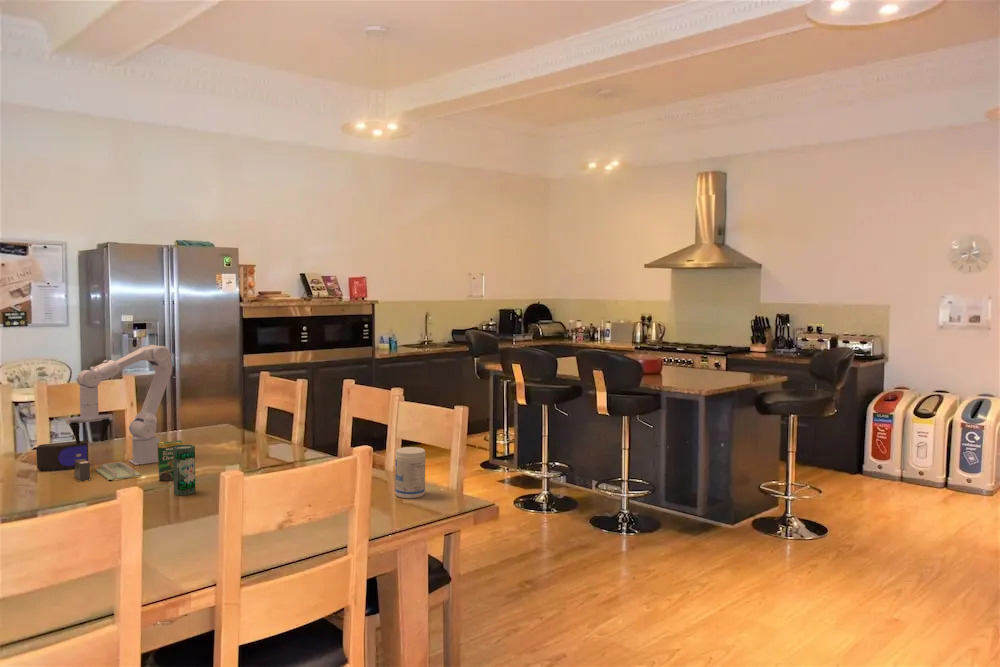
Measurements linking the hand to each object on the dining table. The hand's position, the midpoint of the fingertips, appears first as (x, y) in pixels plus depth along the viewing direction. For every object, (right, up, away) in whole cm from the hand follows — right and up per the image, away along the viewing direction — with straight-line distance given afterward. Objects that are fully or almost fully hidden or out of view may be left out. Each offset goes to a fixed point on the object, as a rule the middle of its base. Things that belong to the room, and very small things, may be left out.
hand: (90, 442), depth 272 cm
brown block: (+3, -11, -10) cm, 15 cm away
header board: (+12, -11, -3) cm, 16 cm away
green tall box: (+44, -13, -26) cm, 53 cm away
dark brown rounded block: (-12, -10, +4) cm, 16 cm away
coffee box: (+33, -12, -10) cm, 36 cm away
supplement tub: (+117, -14, -26) cm, 120 cm away
